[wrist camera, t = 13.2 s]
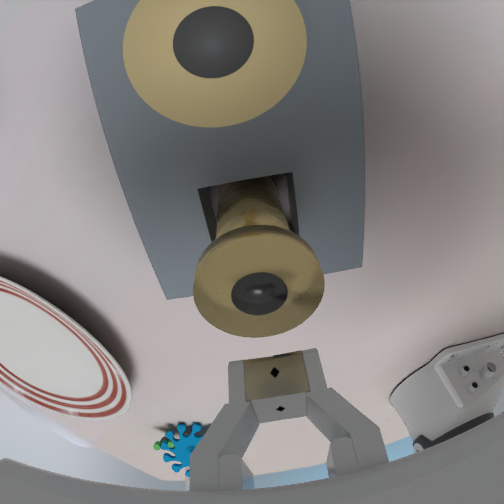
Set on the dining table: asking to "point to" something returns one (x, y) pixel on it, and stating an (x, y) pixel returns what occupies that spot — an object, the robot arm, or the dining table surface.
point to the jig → (229, 118)
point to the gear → (180, 446)
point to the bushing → (256, 265)
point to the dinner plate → (56, 359)
